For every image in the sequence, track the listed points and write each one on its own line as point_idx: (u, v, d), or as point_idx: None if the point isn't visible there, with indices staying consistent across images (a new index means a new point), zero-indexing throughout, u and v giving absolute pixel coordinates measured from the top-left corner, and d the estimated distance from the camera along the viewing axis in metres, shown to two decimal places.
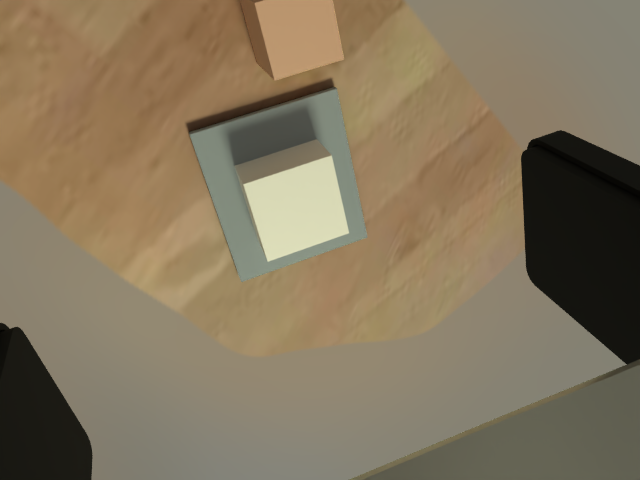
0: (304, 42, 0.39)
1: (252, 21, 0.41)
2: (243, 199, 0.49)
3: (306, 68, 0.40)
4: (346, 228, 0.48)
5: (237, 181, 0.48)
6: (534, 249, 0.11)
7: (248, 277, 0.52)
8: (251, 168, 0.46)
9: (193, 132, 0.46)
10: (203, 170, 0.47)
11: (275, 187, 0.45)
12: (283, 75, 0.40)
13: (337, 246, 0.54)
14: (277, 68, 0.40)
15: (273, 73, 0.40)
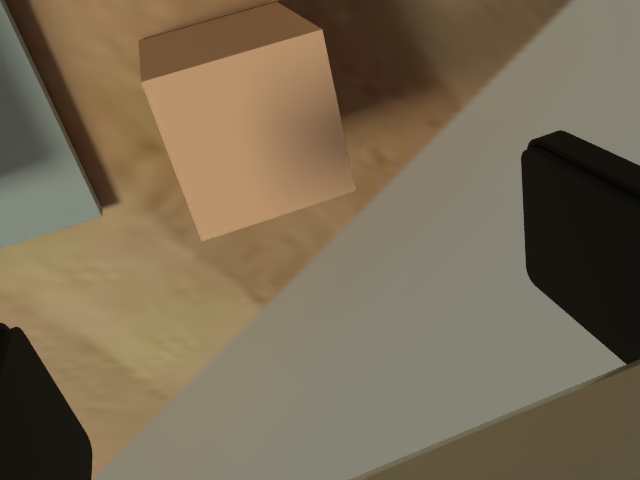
0: (236, 151, 0.17)
1: (251, 27, 0.18)
2: None
3: (176, 160, 0.17)
4: None
5: None
6: (534, 249, 0.11)
7: None
8: None
9: None
10: None
11: None
12: (156, 103, 0.16)
13: None
14: (172, 89, 0.16)
15: (158, 78, 0.16)
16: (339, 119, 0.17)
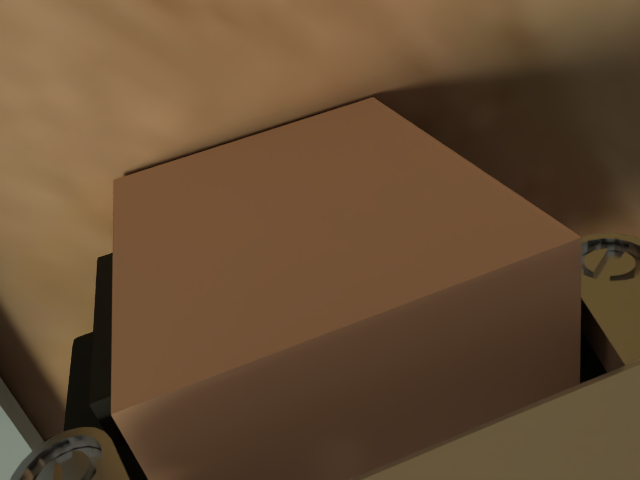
0: None
1: (357, 184, 0.08)
2: None
3: None
4: None
5: None
6: None
7: None
8: None
9: None
10: None
11: None
12: (154, 452, 0.06)
13: None
14: (198, 417, 0.06)
15: (160, 396, 0.06)
16: None
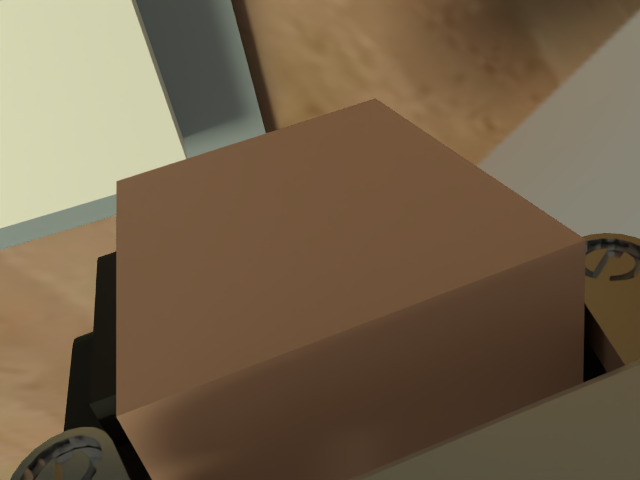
0: None
1: (360, 186, 0.08)
2: None
3: None
4: (11, 221, 0.21)
5: None
6: None
7: None
8: None
9: None
10: None
11: (114, 52, 0.20)
12: (158, 455, 0.06)
13: None
14: (202, 418, 0.06)
15: (165, 399, 0.06)
16: None
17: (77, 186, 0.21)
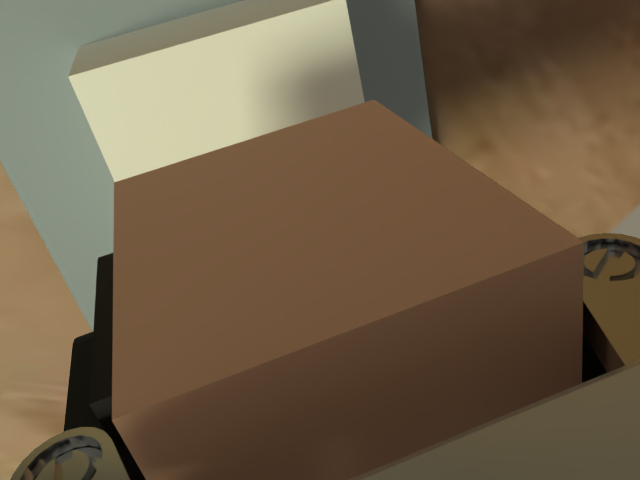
0: None
1: (358, 187, 0.08)
2: (208, 5, 0.18)
3: None
4: None
5: None
6: None
7: None
8: None
9: None
10: None
11: (324, 95, 0.16)
12: (155, 458, 0.06)
13: (62, 267, 0.20)
14: (198, 423, 0.06)
15: (161, 402, 0.06)
16: None
17: None
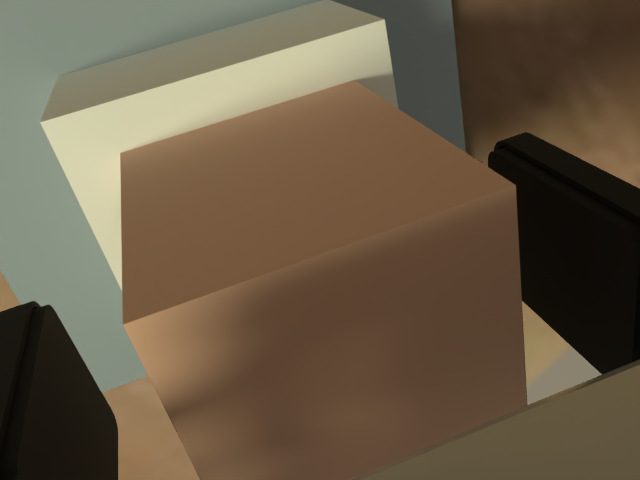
0: (322, 420, 0.08)
1: (334, 150, 0.10)
2: (212, 26, 0.15)
3: (200, 452, 0.08)
4: None
5: (275, 7, 0.15)
6: None
7: None
8: None
9: None
10: None
11: None
12: (158, 361, 0.07)
13: None
14: (194, 330, 0.07)
15: (163, 311, 0.07)
16: (521, 341, 0.09)
17: None
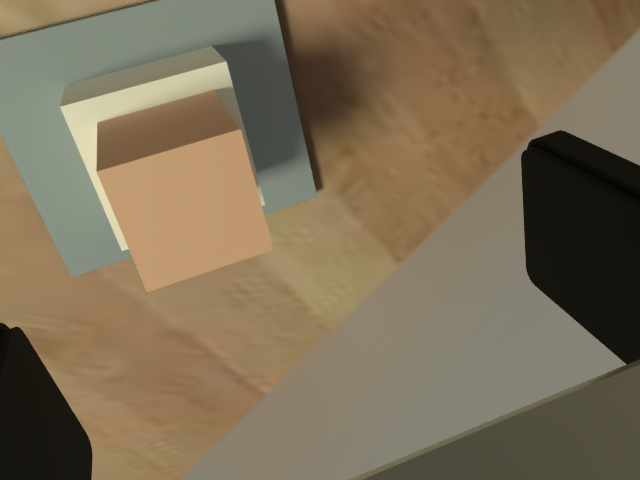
0: (174, 221, 0.21)
1: (188, 119, 0.23)
2: (148, 60, 0.28)
3: (125, 229, 0.21)
4: None
5: (183, 50, 0.28)
6: (534, 249, 0.11)
7: None
8: None
9: None
10: None
11: None
12: (108, 187, 0.20)
13: (51, 230, 0.30)
14: (121, 176, 0.20)
15: (110, 168, 0.20)
16: (257, 195, 0.22)
17: None
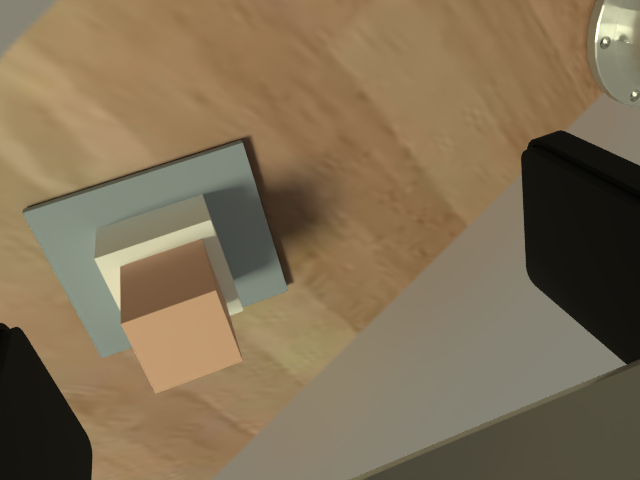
0: (173, 349, 0.32)
1: (182, 273, 0.33)
2: (156, 207, 0.38)
3: (140, 356, 0.31)
4: None
5: (181, 198, 0.39)
6: (535, 249, 0.11)
7: (30, 222, 0.37)
8: (210, 218, 0.38)
9: (243, 146, 0.39)
10: (196, 158, 0.38)
11: None
12: (128, 332, 0.30)
13: (86, 326, 0.41)
14: (137, 325, 0.30)
15: (129, 321, 0.30)
16: (229, 328, 0.32)
17: None
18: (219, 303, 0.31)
